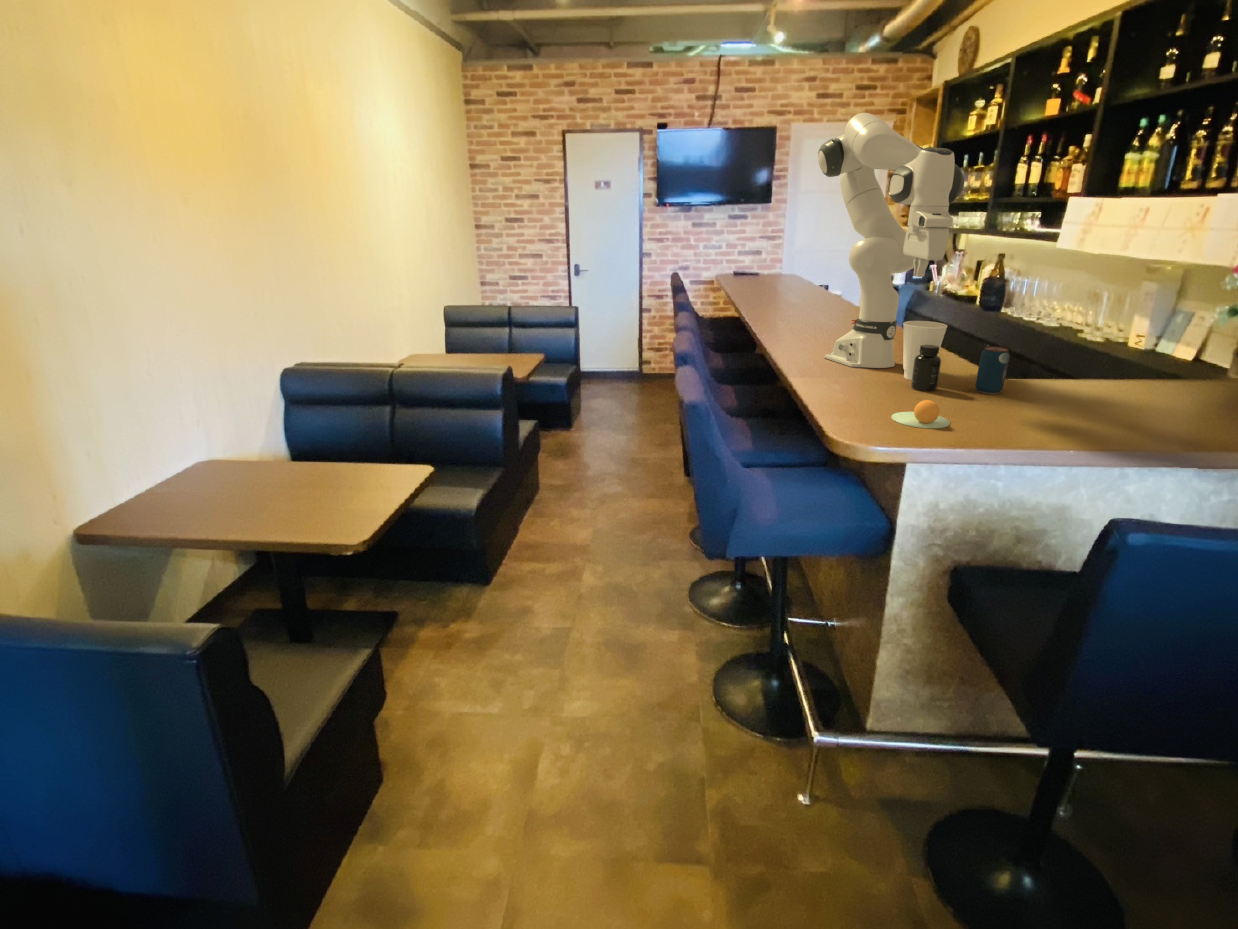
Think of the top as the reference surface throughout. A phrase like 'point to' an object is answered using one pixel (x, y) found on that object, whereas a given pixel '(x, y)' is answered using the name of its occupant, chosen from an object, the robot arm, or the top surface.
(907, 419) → the pale green disc
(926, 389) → the supplement bottle
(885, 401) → the top surface
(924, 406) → the ball
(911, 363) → the cup
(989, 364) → the soda can
